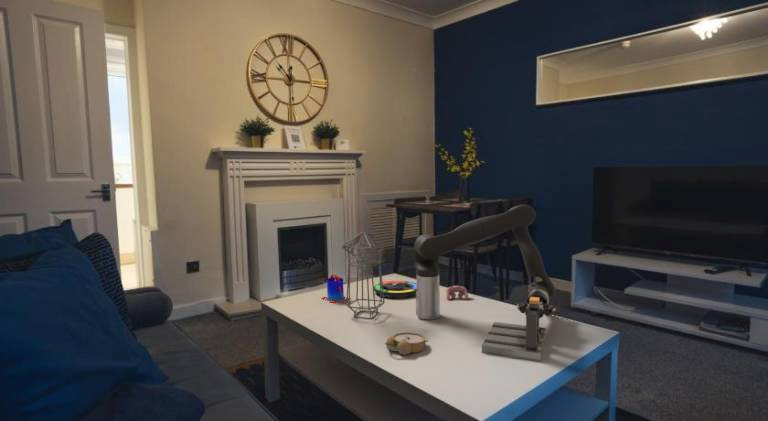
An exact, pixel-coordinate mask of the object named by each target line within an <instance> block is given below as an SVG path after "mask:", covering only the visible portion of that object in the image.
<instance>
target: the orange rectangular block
mask: <svg viewBox="0 0 768 421" xmlns="http://www.w3.org/2000/svg"><path fill="white" fill-rule="evenodd" d="M539 301H540V298H538V297H530V300H529V305H530V304H539Z"/></svg>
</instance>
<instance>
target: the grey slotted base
mask: <svg viewBox="0 0 768 421" xmlns="http://www.w3.org/2000/svg"><path fill="white" fill-rule="evenodd" d="M525 318H526V319H525V325H524V324H515V323H508V322H507V323H505V322H498V321H494V322H493V323H492V325H491V327H490V329H489V331H488V333H487V335H486V336H485V338H484V340H483V342H482V344H481V353H483V354H487V355H488V354H490V355H495V356H503V357H508V358H509V357H510V358H517V359H523V360H529V361H537V362H541V361H542V356H543V352H544V346H545V340H546V334H547V333H546V332H547V327H540V319H539V304H530V305H529V310H528V311H527V313H526V315H525Z"/></svg>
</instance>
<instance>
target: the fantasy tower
mask: <svg viewBox="0 0 768 421" xmlns="http://www.w3.org/2000/svg"><path fill="white" fill-rule="evenodd" d="M326 294H327V297H326V296H322V297H321V298H320V299H323V300H322V301H326V300H327V301H326V302H328V301H329V302H328V304H329V303H333V304H332V305H335V304H336V303H339V301H340V302H344V301H343V300H345V301H347V296H345V294H344V278H343V277H339V276H338V275H337V274H331V275H330V277H329V278H327V279H326ZM325 298H326V299H325ZM345 298H346V299H345ZM324 299H325V300H324ZM350 299H351V300H352V298H351V297H350ZM348 301H349V296H348ZM334 303H335V304H334Z"/></svg>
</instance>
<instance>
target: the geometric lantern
mask: <svg viewBox="0 0 768 421" xmlns="http://www.w3.org/2000/svg"><path fill="white" fill-rule="evenodd" d="M363 236H364V237H365V240H366V242H362V238H363ZM375 240H377V241H378V242H377V241H375ZM357 243H358V246H357V247H356V245H357ZM386 244H387V245H388V242H386V241H384V240H382V239H380V238H378V237H376V236H374V235H372V234H370V233H369V232H367V231H361V232H360V233H358V234H357V235H355V236H354V237H352V238H351V239H349V240H347V241H346V242H344V243H343V244H342V245H340V247H341V248H342V249H343V250H344V251H345V252H347V254H348V255H347V258H348V260H347V261H348V263H347V281H346V282H347V283H346V285H347V286H346V287H347V288H346V298H347V300H346V301H345V302H346V305H345V306H346V307H347V308H348V309H350V310H351V311H352V312H353V318H360V319H361V318H362V319H369V320H370V319H374V318H375V317H376V316H377V315H378V314H379V308H381V307H382V306H383V305H384V304H385V303H386V302H385V297H384V292H383V282H384V281H383V276H382V265H381V263H382V252H383V250H384V247H385V246H386ZM365 245H368V246H365ZM361 246H362V247H361ZM349 249H350V250H349ZM354 249H357V252H358V253H357V254H356V253H354ZM379 249H380V250H379ZM360 250H363V251H362V252H360ZM369 251H371V252H372V253H373V254H374V255H373V257H372V260H365V258H366V257H367V254H368V252H369ZM364 253H365V254H364ZM350 254H351V257H350ZM362 254H364V255H363V256H362ZM377 255H379V259H378V257H377ZM356 256H360V258H361V260H359V259H357V257H356ZM353 257H354V258H355V261H353V262H351V261H352V258H353ZM374 259H376V260H374ZM363 262H364V263H365V265H363V264H364V263H363ZM367 262H369V263H370V264H369V265H368V263H367ZM355 263H357V264H355ZM359 263H361V265H359ZM372 263H375V264H373V265H372ZM377 265H378V275H379V276H378V277H379V283H380V295H379V296H380V299H376V294H375V291H374V286H375V285H374V284H375V283H374V275H373V274H374V273H373V267H375V266H377ZM351 267H356V297H355V300H353V301H352V302H351V300H350V298H351ZM359 267H361V298H358V297H359V296H358V292H359ZM364 268H366V283H367V284H366V285H367V286H366V287H367V289H366V290H367V298H364V272H363V271H364V270H363V269H364ZM369 268H370V272H371V284H372V296H373V299H370V288H369V285H370V284H369ZM381 285H382V294H383V296H382V294H381ZM348 297H349V300H348ZM359 301H361V304H360V302H359ZM363 301H367V306H365V307H364V305H363V304H364V302H363ZM370 301H372V302H373V306H370ZM355 302H357V305H358V306H351V305H352V304H354V303H355ZM376 302H379V303H378V304H377V305H376ZM354 309H355V310H354ZM357 310H359V311H357ZM359 313H360V314H369V317H367V316H366V317H365V316H357V315H359ZM374 313H375V315H374Z"/></svg>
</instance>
